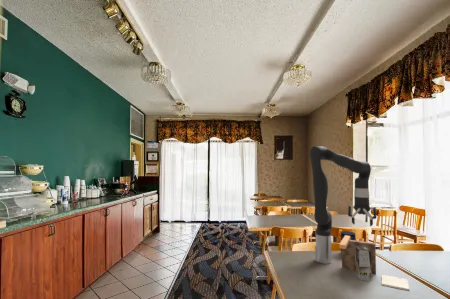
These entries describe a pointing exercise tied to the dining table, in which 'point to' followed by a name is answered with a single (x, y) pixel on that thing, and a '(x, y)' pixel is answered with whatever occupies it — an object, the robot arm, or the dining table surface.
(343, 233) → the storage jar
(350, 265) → the brown wooden flat panel
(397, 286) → the cream pad
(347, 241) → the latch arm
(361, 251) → the coffee box
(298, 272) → the dining table surface
